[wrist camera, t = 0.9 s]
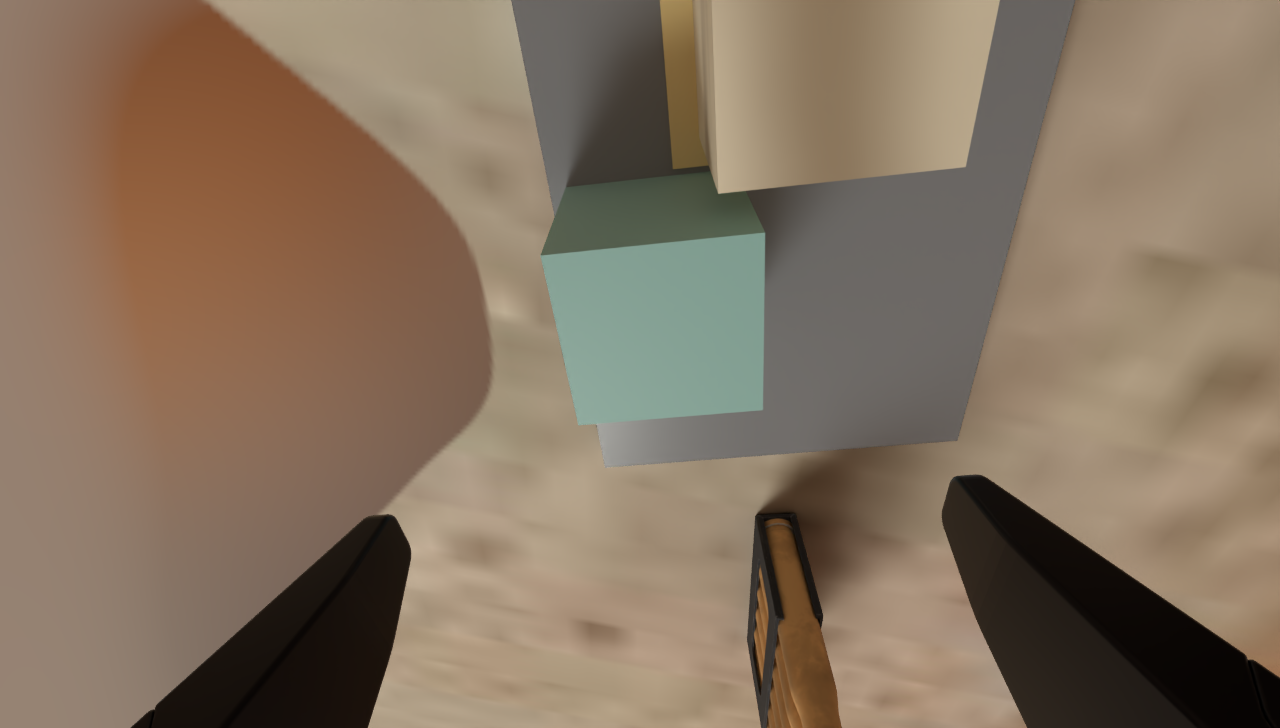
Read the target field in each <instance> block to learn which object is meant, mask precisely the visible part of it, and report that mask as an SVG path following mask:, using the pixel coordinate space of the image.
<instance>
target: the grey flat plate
mask: <svg viewBox="0 0 1280 728" xmlns="http://www.w3.org/2000/svg"><path fill="white" fill-rule="evenodd" d="M511 1H512V6H513V11H514V16H515V21H516V26H517V31H518V36H519V41H520V46H521V51H522V56H523V61H524V66H525V71H526V76H527V81H528V86H529V91H530V96H531V101H532V106H533V111H534V116H535V121H536V126H537V130H538V135H539V140H540V145H541V150H542V155H543V160H544V165H545V170H546V175H547V180H548V185H549V190H550V195H551V200H552V205H553V210H554V215H556V212H557V210H558V207H559V204H560V202H561V199H562V196H563V193H564V191H565V188H566V187H572V186H581V185H590V184H599V183H608V182H617V181H626V180H635V179H644V178H653V177H662V176H672V175H681V174H690V173H699V172H708V171H710V168H709V165H708V162H707V159H706V156H705V153H704V150H703V147H702V144H701V141H700V138H699V124H698V104H697V84H696V65H695V45H694V25H693V5H692V0H511ZM1074 3H1075V0H1000V2H999V7H998V12H997V17H996V22H995V27H994V31H993V36H992V41H991V46H990V51H989V56H988V61H987V66H986V70H985V75H984V80H983V85H982V90H981V95H980V100H979V105H978V109H977V114H976V119H975V124H974V129H973V134H972V139H971V144H970V148H969V153H968V158H967V163H966V167H962V168H953V169H943V170H934V171H925V172H916V173H906V174H897V175H888V176H878V177H869V178H860V179H851V180H841V181H832V182H823V183H813V184H804V185H795V186H786V187H776V188H767V189H758V190H748V191H746V193H747V195H748V197H749V199H750V201H751V203H752V206H753V208H754V210H755V212H756V214H757V216H758V218H759V220H760V223H761V225H762V227H763V229H764V231H765V288H764V368H763V410H759V411H747V412H734V413H722V414H710V415H698V416H686V417H673V418H661V419H649V420H637V421H624V422H612V423H600V424H597V429H598V434H599V439H600V444H601V449H602V454H603V459H604V464H605V468H606V467H619V466H632V465H645V464H658V463H671V462H684V461H697V460H710V459H723V458H736V457H749V456H762V455H775V454H788V453H802V452H815V451H828V450H841V449H854V448H867V447H880V446H893V445H906V444H919V443H932V442H945V441H957V440H958V436H959V432H960V429H961V425H962V421H963V418H964V414H965V410H966V406H967V403H968V399H969V395H970V391H971V388H972V384H973V380H974V376H975V373H976V369H977V365H978V361H979V358H980V354H981V350H982V347H983V343H984V339H985V335H986V332H987V328H988V324H989V320H990V317H991V313H992V309H993V305H994V302H995V298H996V294H997V291H998V287H999V283H1000V279H1001V276H1002V272H1003V268H1004V264H1005V261H1006V257H1007V253H1008V249H1009V246H1010V242H1011V238H1012V234H1013V231H1014V227H1015V223H1016V220H1017V216H1018V212H1019V208H1020V205H1021V201H1022V197H1023V193H1024V190H1025V186H1026V182H1027V178H1028V175H1029V171H1030V167H1031V164H1032V160H1033V156H1034V152H1035V149H1036V145H1037V141H1038V137H1039V134H1040V130H1041V126H1042V122H1043V119H1044V115H1045V111H1046V108H1047V104H1048V100H1049V96H1050V93H1051V89H1052V85H1053V81H1054V78H1055V74H1056V70H1057V66H1058V63H1059V59H1060V55H1061V51H1062V48H1063V44H1064V40H1065V37H1066V33H1067V29H1068V25H1069V22H1070V18H1071V14H1072V10H1073V7H1074Z"/></svg>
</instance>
